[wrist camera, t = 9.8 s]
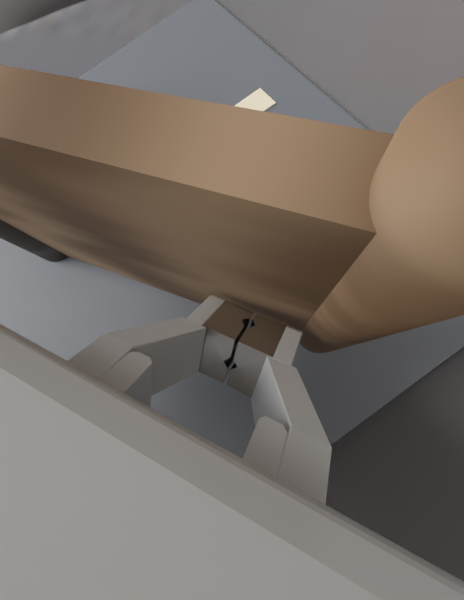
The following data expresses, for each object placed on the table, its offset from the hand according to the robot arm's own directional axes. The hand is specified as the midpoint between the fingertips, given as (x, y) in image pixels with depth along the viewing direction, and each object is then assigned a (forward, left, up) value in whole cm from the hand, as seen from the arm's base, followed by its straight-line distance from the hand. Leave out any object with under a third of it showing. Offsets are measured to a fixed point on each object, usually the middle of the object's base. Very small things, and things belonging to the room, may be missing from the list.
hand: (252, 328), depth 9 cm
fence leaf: (-1, +4, -4) cm, 6 cm away
